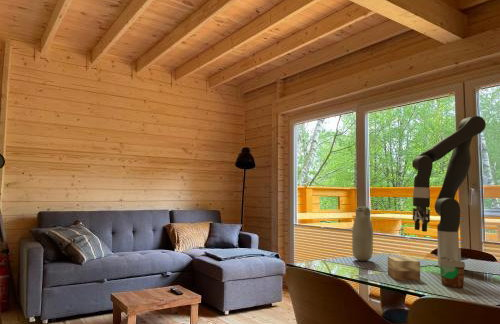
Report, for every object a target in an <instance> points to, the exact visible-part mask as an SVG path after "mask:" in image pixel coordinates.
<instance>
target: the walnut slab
mask: <svg viewBox="0 0 500 324" xmlns="http://www.w3.org/2000/svg"><path fill="white" fill-rule="evenodd" d="M387 275H388V277H390V278H391V279H393V280H394V281H409V280H417V281H416V282H418V281H419V282H420V281H421V270H420V271H394V270H393V269H391V268H390V267H388V266H387Z"/></svg>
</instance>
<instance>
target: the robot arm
mask: <svg viewBox="0 0 500 324" xmlns="http://www.w3.org/2000/svg"><path fill="white" fill-rule="evenodd" d="M486 125H487V124H486V120H485V118H483V117H482V116H480V115H473V116H469V117H465V118H463V119H461V120H460V121H459V124H458V128H457V130H456V131H454V132H453V133H452V134H450V135H448V136H446V137H445V138H442V139H441V140H439V141H438V142H436V143H435V144H434V145H433V146H431V147H430V148H429V149H427V150H425V151H424V152H422V153H421V154H419V155H417V156H416V157H415V158H414V159H413V160H412V163H411V164H412V168H413V169H414V170H416V171H417V173H416V175H415V176H414V177H413V178H414V179H413V189H412V190H413V193H412V194H413V195H412V206H413V207H415V208H412V221H413V222H414V230H415V231H420V230H421V231H422V232H424V233H426V232H428V224H429V223H430V221H431V220H430V219H431V211H430V209H427V208H430V205H431V204H430V203H431V189H430V188H431V187H430V186H431V185H430V184H431V181H430V179H431V176H432V171H433V165H434V164H433V163H434V162H436V161H440V160H441V159H443V158H444V157H445V156H447V155H449V153H450V152H451V156H450V158H449V162H448V165H447V168H446V172H445V176H444V179H443V181H442V186H441V189H440V192H439V193H438V196H437V198H436V200H435V201H434V202H435V203H434V210H435V213H436V214H437V215H438V216H440V219H439V223H438V224H437V226H436V229H437V231H436V233H437V234H436V235H437V236H436V237H437V241H436V242H437V261H438V260H439V258H440V257H447V259H449V260H455V261H462V254H461V253H462V248H461V247H460V239H459V236H460V235H459V228H460V226H461V205H460V203H459V202H458V200H457V199H455V198H456V194H457V191H458V190H459V188H460V187H461V185H462V183H464V181H465V179H466V177H467V175H468V173H469V170H470V168H471V162H472V159H471V151H470V147H471V144H472V139H473V137H475V136H478V135H479V134H482V132H484V130H485V129H486ZM420 224H421V225H420ZM420 228H421V229H420ZM437 267H439V268H440V264H438V263H437Z"/></svg>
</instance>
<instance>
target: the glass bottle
mask: <svg viewBox="0 0 500 324" xmlns="http://www.w3.org/2000/svg"><path fill="white" fill-rule="evenodd" d="M351 232H352V233H351V235H352V236H351V240H352V242H351V244H352V245H351V246H352V251H351V252H352V256H353V257H354V258H355V260H356V261H359V262H366V261H367V262H368V261H370V260H371V259H372V258H373V250H374V246H373V245H374V242H373V241H374V229H373V224H372V220H371V210H370V208H369V207H368V206H363V205H361V206H358V207H356V209H355V217H354V222H353V226H352V230H351Z"/></svg>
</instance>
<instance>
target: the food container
mask: <svg viewBox="0 0 500 324" xmlns="http://www.w3.org/2000/svg"><path fill="white" fill-rule="evenodd" d="M438 264H440V267H439V269H440V279H441V280H440V281H441V285H442V286H444V287H447V288H453V289H464V283H465V280H464V279H465V268H466V262H465V261H462V260H461V261H455V260H449V259H447V257H440V258H439V260H438V259H437V265H438Z"/></svg>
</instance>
